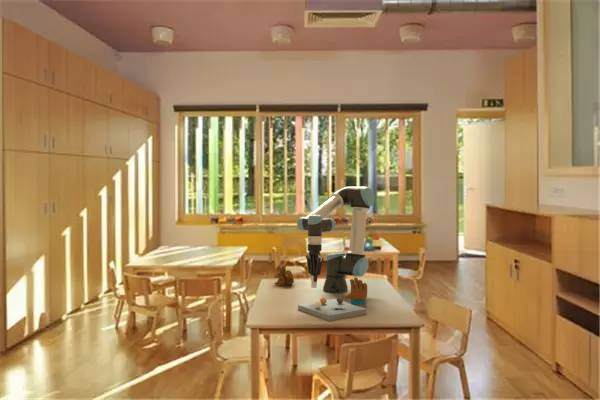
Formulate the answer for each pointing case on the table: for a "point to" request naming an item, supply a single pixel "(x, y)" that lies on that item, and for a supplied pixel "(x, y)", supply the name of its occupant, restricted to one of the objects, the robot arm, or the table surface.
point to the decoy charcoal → (339, 300)
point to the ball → (323, 300)
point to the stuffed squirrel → (283, 276)
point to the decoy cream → (317, 305)
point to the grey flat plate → (332, 310)
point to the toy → (357, 292)
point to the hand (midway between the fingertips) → (313, 287)
